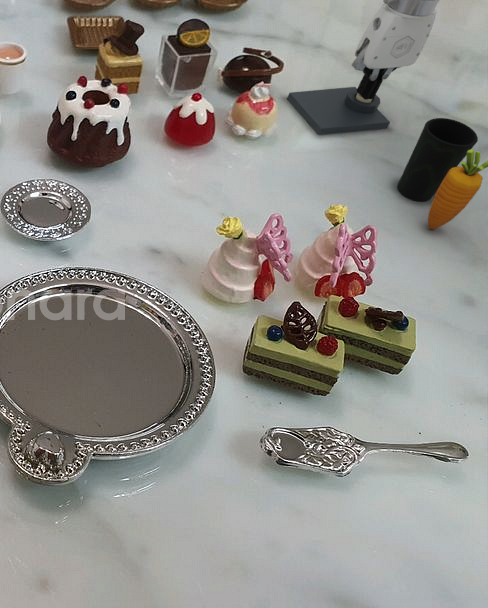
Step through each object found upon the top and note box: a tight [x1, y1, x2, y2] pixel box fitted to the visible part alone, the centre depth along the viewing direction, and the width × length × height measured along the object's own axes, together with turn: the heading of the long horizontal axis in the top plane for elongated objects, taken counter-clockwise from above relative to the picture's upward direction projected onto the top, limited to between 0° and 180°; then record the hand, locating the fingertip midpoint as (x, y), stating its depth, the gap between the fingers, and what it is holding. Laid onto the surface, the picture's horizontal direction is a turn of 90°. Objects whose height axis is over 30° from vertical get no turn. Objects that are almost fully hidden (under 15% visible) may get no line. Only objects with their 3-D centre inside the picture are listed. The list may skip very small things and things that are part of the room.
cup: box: [396, 117, 479, 203], centre depth 123 cm, size 8×8×12 cm
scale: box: [286, 86, 391, 136], centre depth 141 cm, size 14×12×3 cm
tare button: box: [355, 93, 372, 103], centre depth 141 cm, size 3×3×2 cm
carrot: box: [427, 148, 488, 230], centre depth 115 cm, size 5×5×15 cm
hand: (364, 95), depth 141 cm, fingers closed
